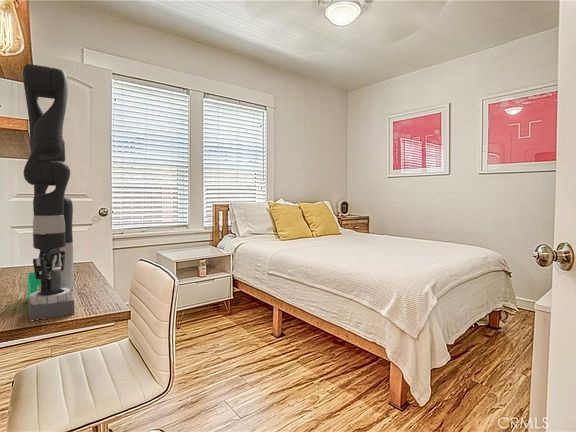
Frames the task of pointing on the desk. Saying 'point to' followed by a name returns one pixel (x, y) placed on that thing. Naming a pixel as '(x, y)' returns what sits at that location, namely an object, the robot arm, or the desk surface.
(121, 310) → the desk surface
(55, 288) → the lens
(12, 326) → the desk surface
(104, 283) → the desk surface
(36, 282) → the camera mount
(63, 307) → the segmented ring socket plate
